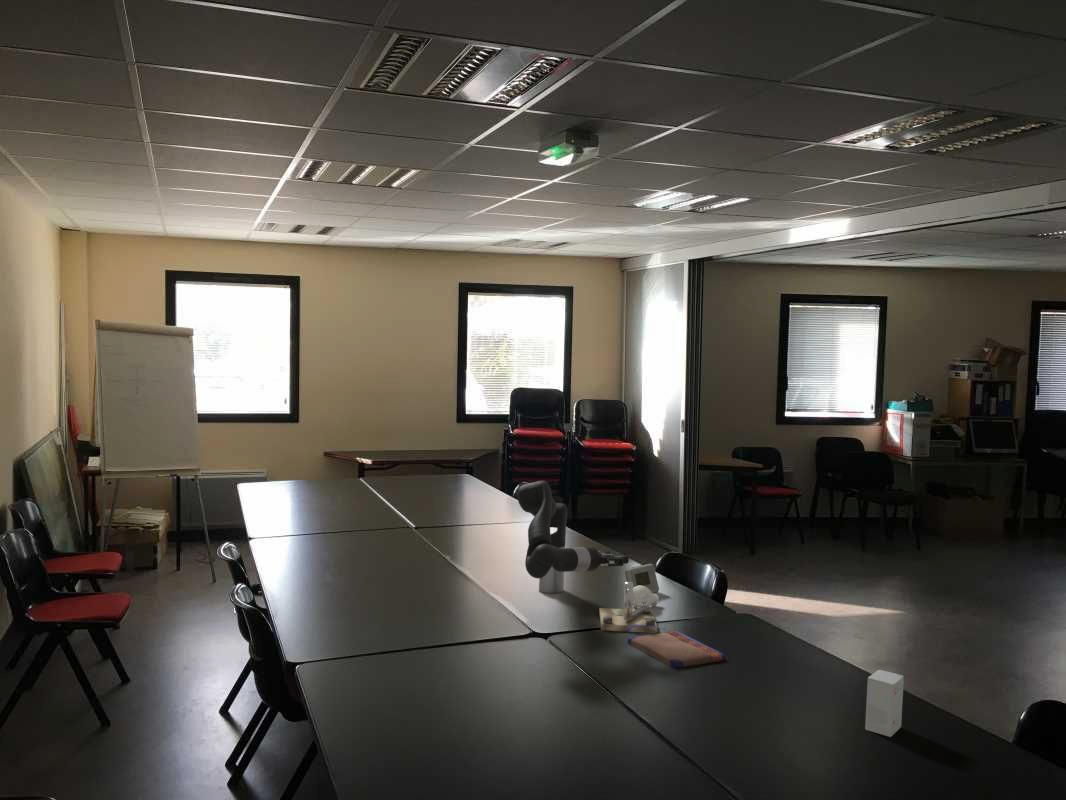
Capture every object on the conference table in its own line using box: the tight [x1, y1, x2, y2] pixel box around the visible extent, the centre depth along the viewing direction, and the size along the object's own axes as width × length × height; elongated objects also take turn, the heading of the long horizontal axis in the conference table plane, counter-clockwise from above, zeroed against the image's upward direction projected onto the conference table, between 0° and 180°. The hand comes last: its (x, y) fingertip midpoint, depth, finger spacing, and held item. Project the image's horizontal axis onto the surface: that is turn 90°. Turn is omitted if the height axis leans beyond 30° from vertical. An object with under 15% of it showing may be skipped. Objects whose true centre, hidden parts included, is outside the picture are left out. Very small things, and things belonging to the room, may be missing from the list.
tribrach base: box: [598, 607, 658, 634], centre depth 286 cm, size 18×18×4 cm
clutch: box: [626, 625, 727, 669], centre depth 261 cm, size 28×5×19 cm
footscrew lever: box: [622, 581, 652, 621], centre depth 286 cm, size 17×5×12 cm, turn 148°
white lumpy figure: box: [632, 585, 660, 609], centre depth 305 cm, size 6×8×12 cm
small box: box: [864, 669, 905, 738], centre depth 209 cm, size 8×6×13 cm
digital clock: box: [624, 563, 660, 594], centre depth 322 cm, size 16×9×11 cm, turn 123°
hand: (618, 557), depth 276 cm, fingers open, 8 cm apart
